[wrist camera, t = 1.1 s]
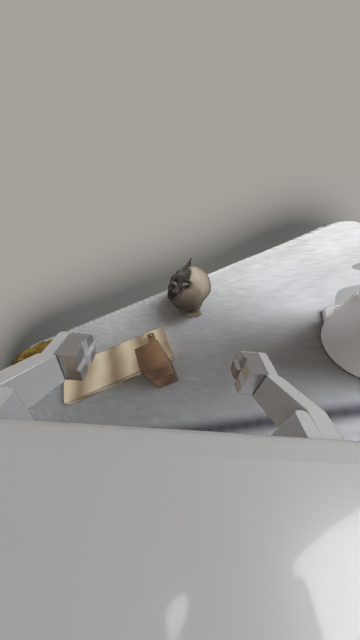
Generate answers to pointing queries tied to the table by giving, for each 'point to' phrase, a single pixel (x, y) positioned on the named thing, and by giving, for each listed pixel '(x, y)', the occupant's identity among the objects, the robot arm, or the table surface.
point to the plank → (112, 368)
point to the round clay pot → (189, 289)
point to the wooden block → (155, 362)
